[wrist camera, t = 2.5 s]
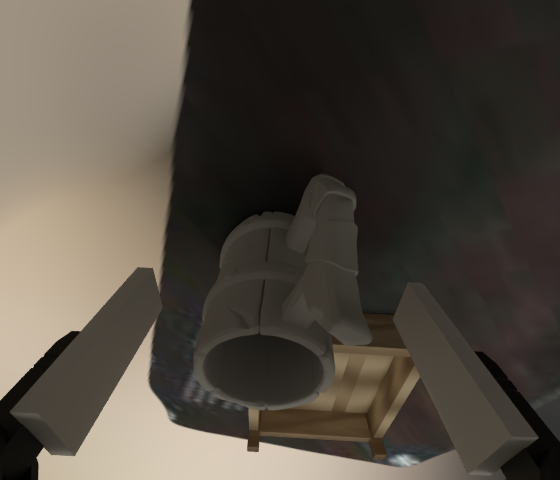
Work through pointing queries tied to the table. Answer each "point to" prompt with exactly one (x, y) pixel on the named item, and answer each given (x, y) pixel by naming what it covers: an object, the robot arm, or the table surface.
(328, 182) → the mug
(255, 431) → the wooden tray
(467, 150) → the table surface
